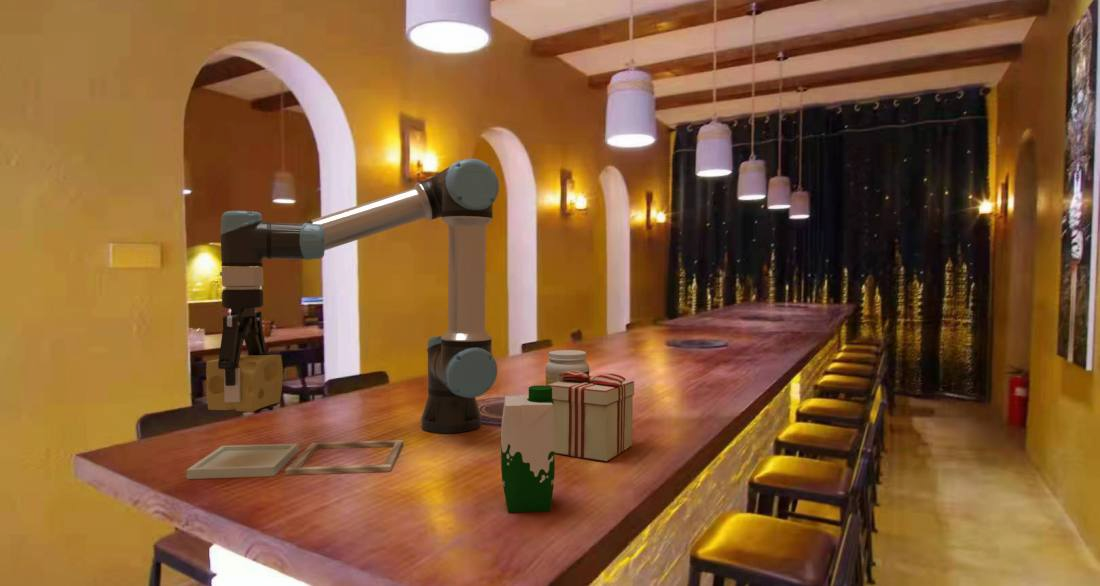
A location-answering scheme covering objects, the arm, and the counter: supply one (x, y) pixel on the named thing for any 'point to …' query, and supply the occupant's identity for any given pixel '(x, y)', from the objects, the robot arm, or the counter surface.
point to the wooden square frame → (298, 470)
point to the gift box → (592, 415)
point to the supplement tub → (565, 364)
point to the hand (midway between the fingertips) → (244, 395)
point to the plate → (243, 461)
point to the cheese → (247, 383)
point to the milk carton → (528, 450)
